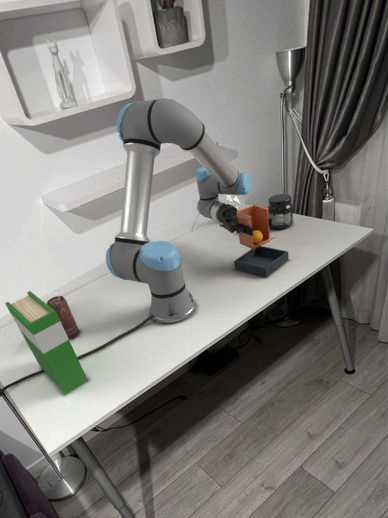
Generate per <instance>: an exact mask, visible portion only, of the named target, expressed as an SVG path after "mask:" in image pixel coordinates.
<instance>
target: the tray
mask: <svg viewBox="0 0 388 518" xmlns="http://www.w3.org/2000/svg"><path fill="white" fill-rule="evenodd" d="M288 261H289V250H288V251H287V250H284V249H278V248H273V247H268V246H264V245H261V246H259V247H257V248H255V249H251V248H250V249H249V250H248V251H246V252H245V253H243V254H242V255H241V256H239V257H238V258H236V259H235V260H234V261H233V263H234V270H235V271H239V272H244V273H246V274H251V275H253V276H258V277H261V278H269V276H271V275H272V274H273V273H274V272H276V271H277V270H278V269H279V268H281V267H282V266H283V265H285V264H286V263H287V262H288Z"/></svg>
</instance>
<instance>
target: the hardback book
mask: <svg viewBox="0 0 388 518" xmlns="http://www.w3.org/2000/svg"><path fill="white" fill-rule="evenodd" d="M26 294H27V295H26V296H24V297H22V298H20V299H18V300H16V301H14V302H12V303H11V302H9V301H7V302H5V306H6V308H7V310H8V311H9V314H10V315H11V317H12V318H13V320H14V322H15V324H16V326H17V328H18V329H19V331H20V334H21V335H22V337H23V339H24V340H25V342H26V344H27V346H28V348H29V349H30V351H31V353H32V356H34V359H35V360H36V362H37V364H38V366H39V367H40V369H41V370H44V374H46V375H47V377H48V378H49V379H50V380H51V381H52V382H53V383H54V385H55V386H57V388H58V389H59V390H60V391H61V392H62V393H63V394H64V395H68V394H70V392H72V391H74V390H75V389H77V388H78V387H80V386H82V385H83V384H85V383H86V382H88V381H89V380H88V377H87V375H86V373H85V371H84V369H83V367H82V364H81V362H80V359H78V358H77V357H78V356H77V354H76V351H75V350H74V347H73V345H72V343H71V340H69V339H68V337H67V334H66V332H65V330H64V328H63V326H62V324H61V322H60V320H59V317H58V315H57V313H56V311H55V310H53V309H52V308H51V307H50V306H48V305H47V302H45V301H43V300H42V299H41V298H39V296H37V295H36V294H34V293H33V292H32V291H31V290H29V291H28V292H26Z"/></svg>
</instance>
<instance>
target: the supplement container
mask: <svg viewBox="0 0 388 518" xmlns="http://www.w3.org/2000/svg"><path fill="white" fill-rule="evenodd" d="M267 204H268V206H267V208H266V209H268V217H269V218H271V219H272V224H273V226H272V227H269V229H272V230H275V231H276V230H278V231H279V230H280V231H281V230H286V229H288V228H290V227H291V226H292V225H293V224H294V211H293V210H294V209H293V208H294V207H293V206H294V204H293V202H292V195H290V194H288V193H278V194H274V195H271V196H269V197H268V199H267Z"/></svg>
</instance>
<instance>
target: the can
mask: <svg viewBox="0 0 388 518" xmlns="http://www.w3.org/2000/svg"><path fill="white" fill-rule="evenodd" d="M46 304H47V305H48V306H50V307H51V308H52V309H53V310H55V311H56V313H57V315H58V317H59V320H60V322H61V324H62V326H63V328H64V330H65V332H66V334H67V337H68V339H69V341H72V340H75V339H76V338H78V336H79V335H80V328H79V326H78V324H77V322H76V320H75V317H74V315H73V312H72V310H71V309H70V306H69V304H68V301H67V299H66V298H65V297H64V296H63V295H56V296H54V297H53V296H52V297H51V298H49V299H48V300H47V302H46Z"/></svg>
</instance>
